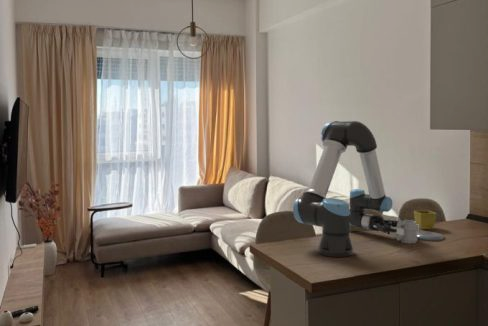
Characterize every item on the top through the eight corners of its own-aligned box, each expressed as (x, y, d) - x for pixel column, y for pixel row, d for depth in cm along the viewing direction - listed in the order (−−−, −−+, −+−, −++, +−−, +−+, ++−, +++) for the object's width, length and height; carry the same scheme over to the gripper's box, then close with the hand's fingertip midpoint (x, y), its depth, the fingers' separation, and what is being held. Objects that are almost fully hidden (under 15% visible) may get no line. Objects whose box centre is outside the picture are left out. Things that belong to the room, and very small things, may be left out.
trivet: (415, 240, 222) (415, 238, 222) (407, 233, 237) (407, 231, 237) (447, 241, 221) (448, 238, 221) (437, 233, 236) (437, 231, 236)
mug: (420, 242, 219) (421, 217, 218) (400, 245, 214) (401, 220, 213) (409, 238, 226) (410, 214, 225) (389, 241, 222) (390, 216, 220)
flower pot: (412, 226, 251) (413, 210, 251) (428, 226, 252) (428, 210, 252) (420, 230, 243) (421, 213, 242) (436, 230, 244) (437, 213, 243)
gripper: (386, 225, 242) (424, 233, 226) (357, 233, 226) (396, 242, 210) (386, 211, 241) (425, 218, 225) (357, 218, 225) (396, 225, 209)
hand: (411, 229), depth 217 cm, fingers open, 13 cm apart
